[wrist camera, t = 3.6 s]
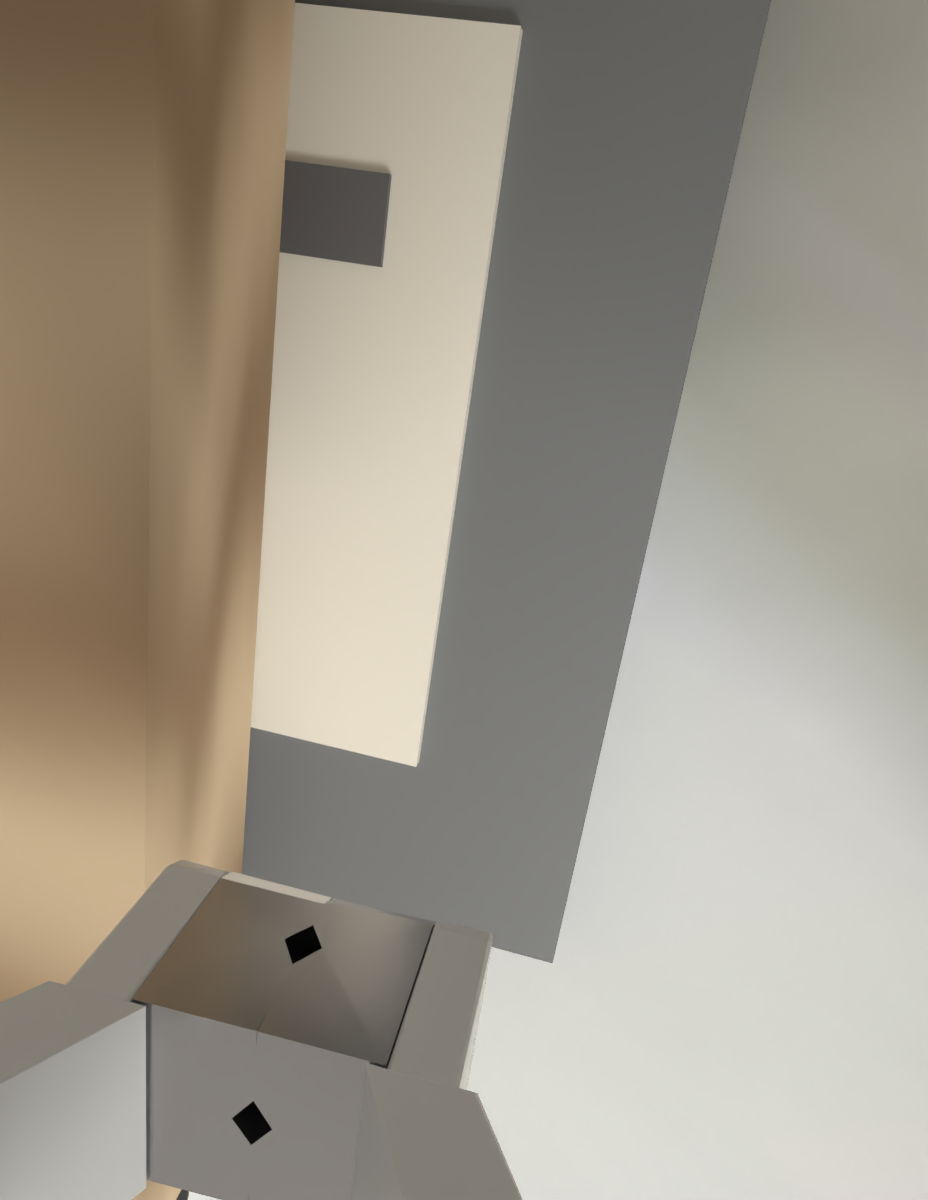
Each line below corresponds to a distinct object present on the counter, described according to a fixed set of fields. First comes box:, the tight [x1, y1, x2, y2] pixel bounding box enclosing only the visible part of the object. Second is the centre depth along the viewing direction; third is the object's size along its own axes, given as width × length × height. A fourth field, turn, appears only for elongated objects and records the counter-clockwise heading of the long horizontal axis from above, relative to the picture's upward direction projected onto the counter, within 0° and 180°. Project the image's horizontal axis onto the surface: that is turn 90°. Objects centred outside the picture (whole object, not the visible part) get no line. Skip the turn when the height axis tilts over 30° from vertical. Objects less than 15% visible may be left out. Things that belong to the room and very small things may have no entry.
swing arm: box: [0, 0, 295, 1200], centre depth 11 cm, size 26×4×4 cm, turn 172°
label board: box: [242, 0, 771, 963], centre depth 13 cm, size 16×23×2 cm
